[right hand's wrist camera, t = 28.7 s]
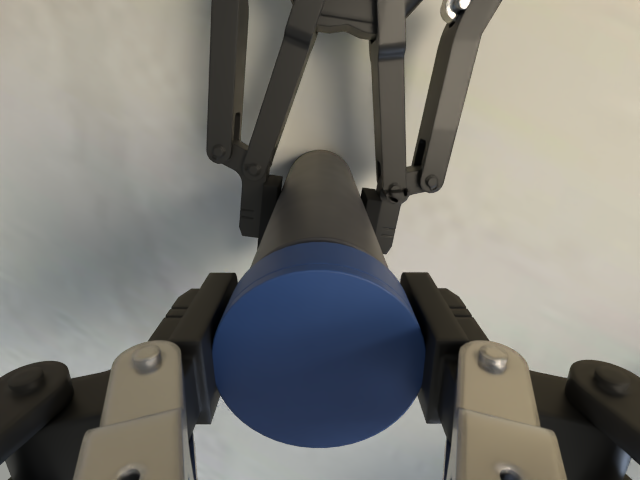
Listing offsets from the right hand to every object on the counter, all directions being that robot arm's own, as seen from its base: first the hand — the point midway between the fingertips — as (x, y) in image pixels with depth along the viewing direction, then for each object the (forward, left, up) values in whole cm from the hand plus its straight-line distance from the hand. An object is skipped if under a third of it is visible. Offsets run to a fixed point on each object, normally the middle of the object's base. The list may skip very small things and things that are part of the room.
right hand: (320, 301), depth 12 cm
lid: (0, 0, +3) cm, 3 cm away
